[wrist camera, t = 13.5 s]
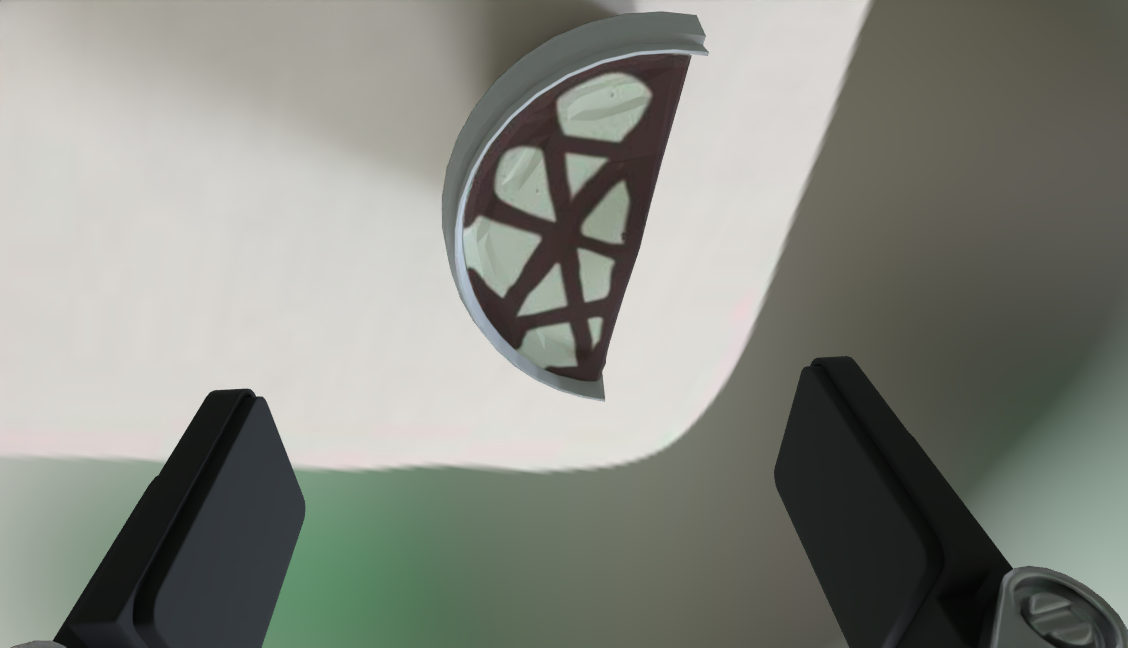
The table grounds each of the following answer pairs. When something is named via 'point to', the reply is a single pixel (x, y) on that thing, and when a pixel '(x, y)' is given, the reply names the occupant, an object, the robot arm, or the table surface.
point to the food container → (564, 190)
